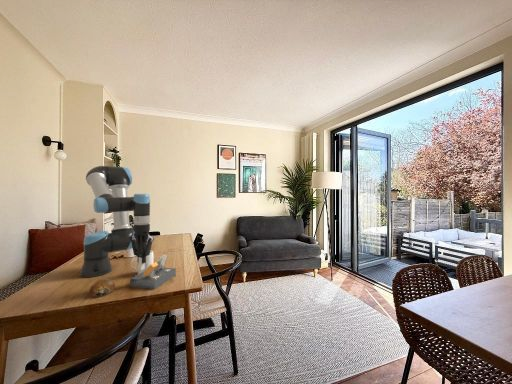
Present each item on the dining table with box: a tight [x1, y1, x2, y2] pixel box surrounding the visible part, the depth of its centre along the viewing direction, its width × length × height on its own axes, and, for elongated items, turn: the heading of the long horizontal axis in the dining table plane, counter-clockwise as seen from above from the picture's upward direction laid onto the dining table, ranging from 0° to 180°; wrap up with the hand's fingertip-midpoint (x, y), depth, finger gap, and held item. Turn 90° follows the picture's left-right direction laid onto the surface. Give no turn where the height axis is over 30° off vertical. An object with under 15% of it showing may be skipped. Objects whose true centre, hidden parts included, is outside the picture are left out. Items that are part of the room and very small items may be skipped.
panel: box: [129, 253, 177, 290], centre depth 119 cm, size 14×18×12 cm
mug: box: [130, 250, 154, 275], centre depth 130 cm, size 12×8×12 cm
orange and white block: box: [141, 261, 158, 278], centre depth 114 cm, size 2×5×8 cm
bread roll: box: [89, 278, 116, 298], centre depth 106 cm, size 10×10×8 cm
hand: (141, 269), depth 115 cm, fingers closed
